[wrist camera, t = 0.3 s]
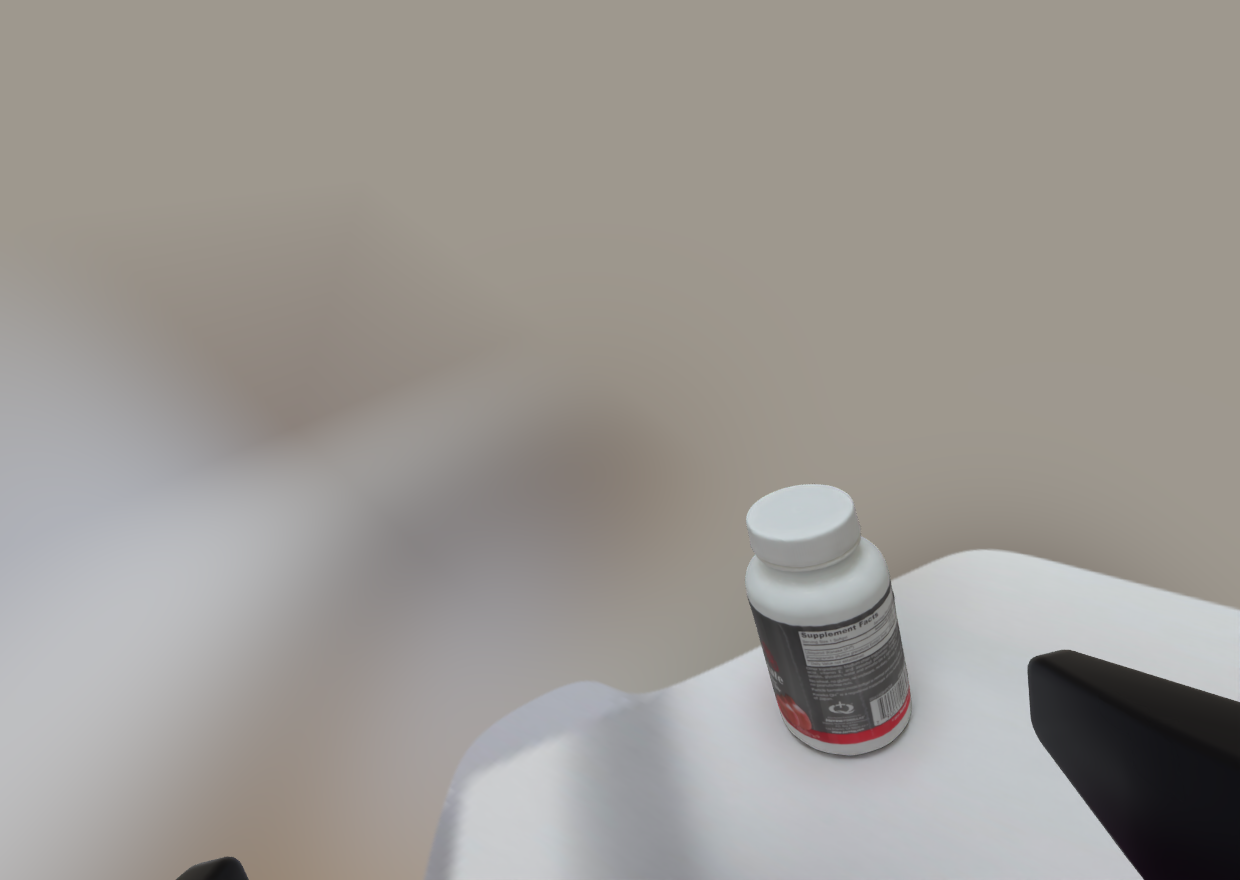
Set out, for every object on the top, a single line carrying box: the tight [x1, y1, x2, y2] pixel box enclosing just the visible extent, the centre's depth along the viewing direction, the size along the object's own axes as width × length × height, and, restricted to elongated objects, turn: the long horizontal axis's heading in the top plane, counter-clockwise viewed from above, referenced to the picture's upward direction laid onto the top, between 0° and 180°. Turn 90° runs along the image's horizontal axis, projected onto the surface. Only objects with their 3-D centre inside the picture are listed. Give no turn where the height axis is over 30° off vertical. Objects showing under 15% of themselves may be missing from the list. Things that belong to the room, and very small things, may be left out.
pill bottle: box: [745, 484, 912, 755], centre depth 25 cm, size 5×5×10 cm
